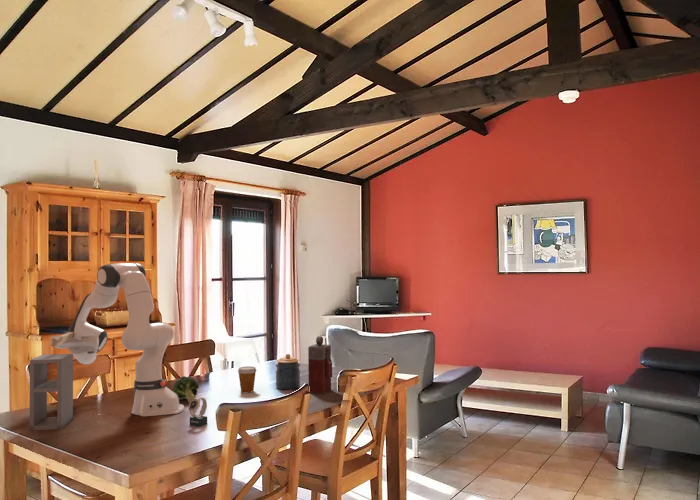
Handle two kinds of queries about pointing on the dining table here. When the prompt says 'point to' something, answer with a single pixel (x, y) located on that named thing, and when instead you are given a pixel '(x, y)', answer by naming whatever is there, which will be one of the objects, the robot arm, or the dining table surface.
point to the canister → (287, 373)
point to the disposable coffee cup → (247, 378)
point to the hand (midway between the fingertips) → (70, 335)
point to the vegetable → (186, 388)
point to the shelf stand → (59, 385)
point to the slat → (62, 339)
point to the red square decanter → (319, 367)
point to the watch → (193, 406)
